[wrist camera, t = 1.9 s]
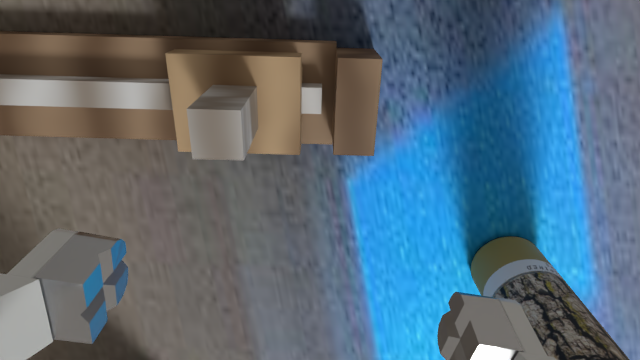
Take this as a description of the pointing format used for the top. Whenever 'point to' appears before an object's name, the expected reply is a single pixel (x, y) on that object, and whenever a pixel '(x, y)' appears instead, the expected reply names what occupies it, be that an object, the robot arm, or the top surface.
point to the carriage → (236, 102)
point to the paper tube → (542, 300)
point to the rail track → (151, 61)
